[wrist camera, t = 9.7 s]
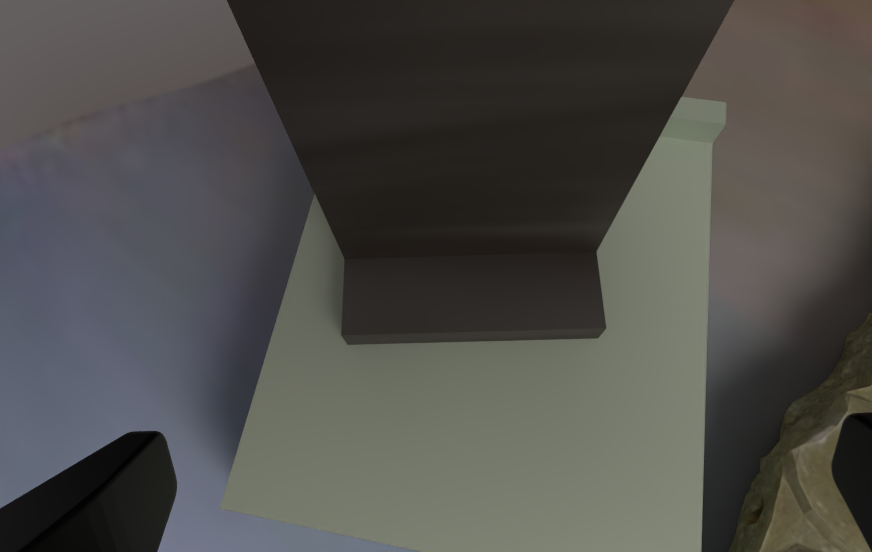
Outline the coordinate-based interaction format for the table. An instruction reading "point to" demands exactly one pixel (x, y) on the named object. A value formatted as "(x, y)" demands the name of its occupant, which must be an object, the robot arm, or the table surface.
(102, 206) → the table surface
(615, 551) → the picture ledge
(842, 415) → the decorative tile
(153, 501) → the robot arm
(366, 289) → the dark photo frame
